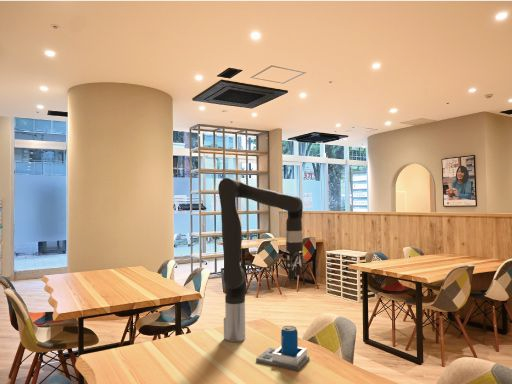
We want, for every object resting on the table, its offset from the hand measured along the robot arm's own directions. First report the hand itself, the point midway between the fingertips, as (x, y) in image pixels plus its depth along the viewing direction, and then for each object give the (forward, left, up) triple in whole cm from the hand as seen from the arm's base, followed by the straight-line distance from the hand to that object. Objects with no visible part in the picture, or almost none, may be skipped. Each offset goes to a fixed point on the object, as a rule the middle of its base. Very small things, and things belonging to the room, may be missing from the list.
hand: (294, 276), depth 168 cm
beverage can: (+5, -18, -29) cm, 34 cm away
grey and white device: (+2, -18, -30) cm, 35 cm away
